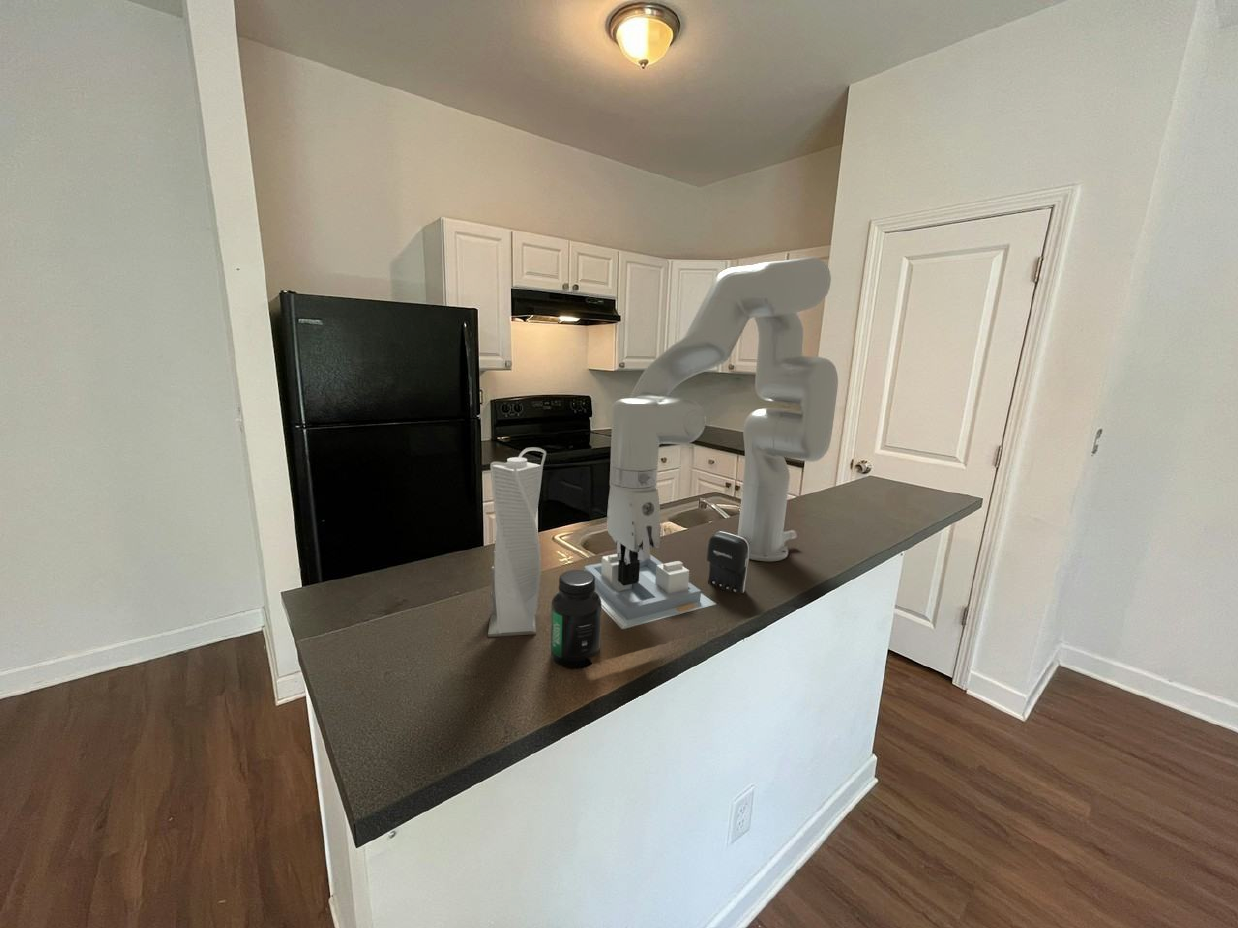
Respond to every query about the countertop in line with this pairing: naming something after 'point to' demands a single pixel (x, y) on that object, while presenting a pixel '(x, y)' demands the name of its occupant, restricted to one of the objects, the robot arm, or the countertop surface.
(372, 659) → the countertop surface
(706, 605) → the switch bank
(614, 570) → the tab
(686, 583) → the tab
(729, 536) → the battery charger
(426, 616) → the countertop surface
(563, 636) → the supplement bottle
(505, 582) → the skyscraper
